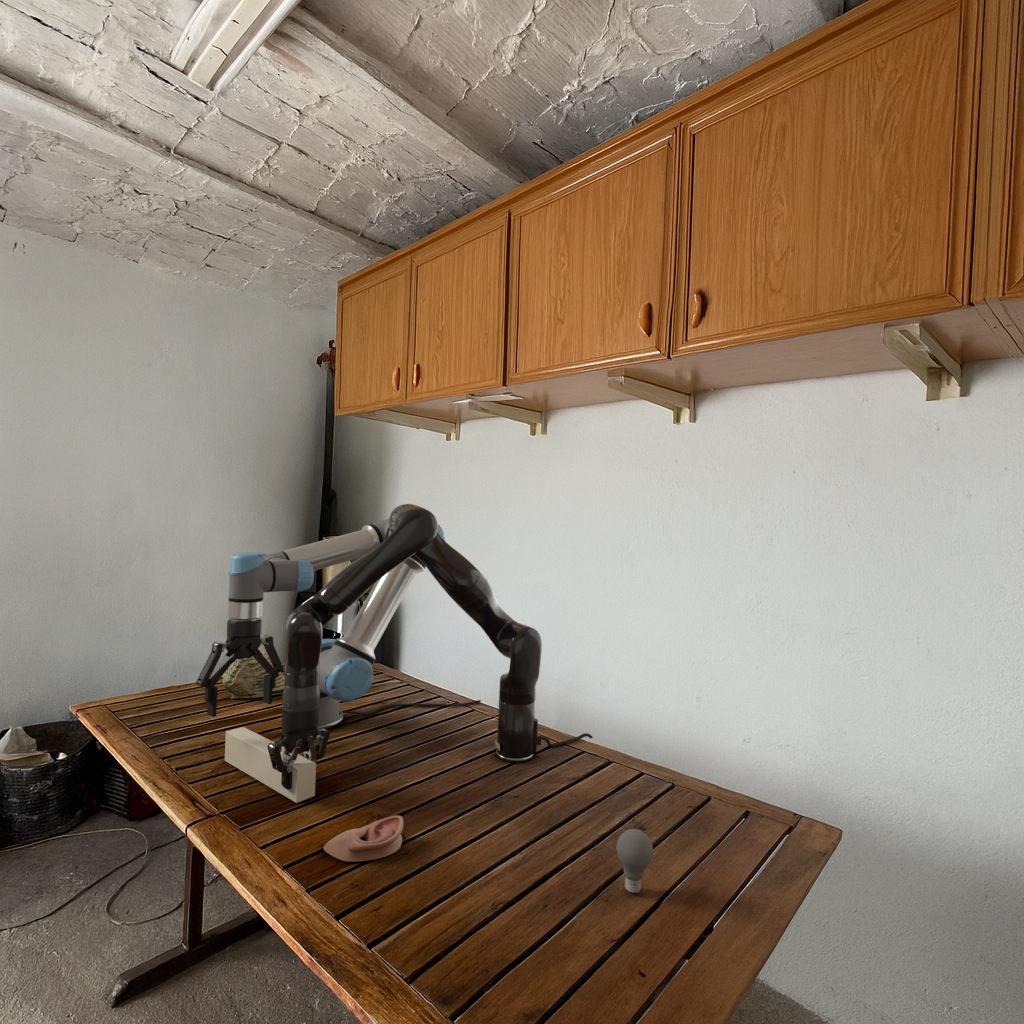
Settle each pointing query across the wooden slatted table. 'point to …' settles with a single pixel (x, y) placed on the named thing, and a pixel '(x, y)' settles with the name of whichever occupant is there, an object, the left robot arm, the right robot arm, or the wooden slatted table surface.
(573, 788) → the wooden slatted table surface
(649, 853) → the light bulb
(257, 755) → the beam
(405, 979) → the wooden slatted table surface
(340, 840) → the anatomical model
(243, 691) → the fossil
